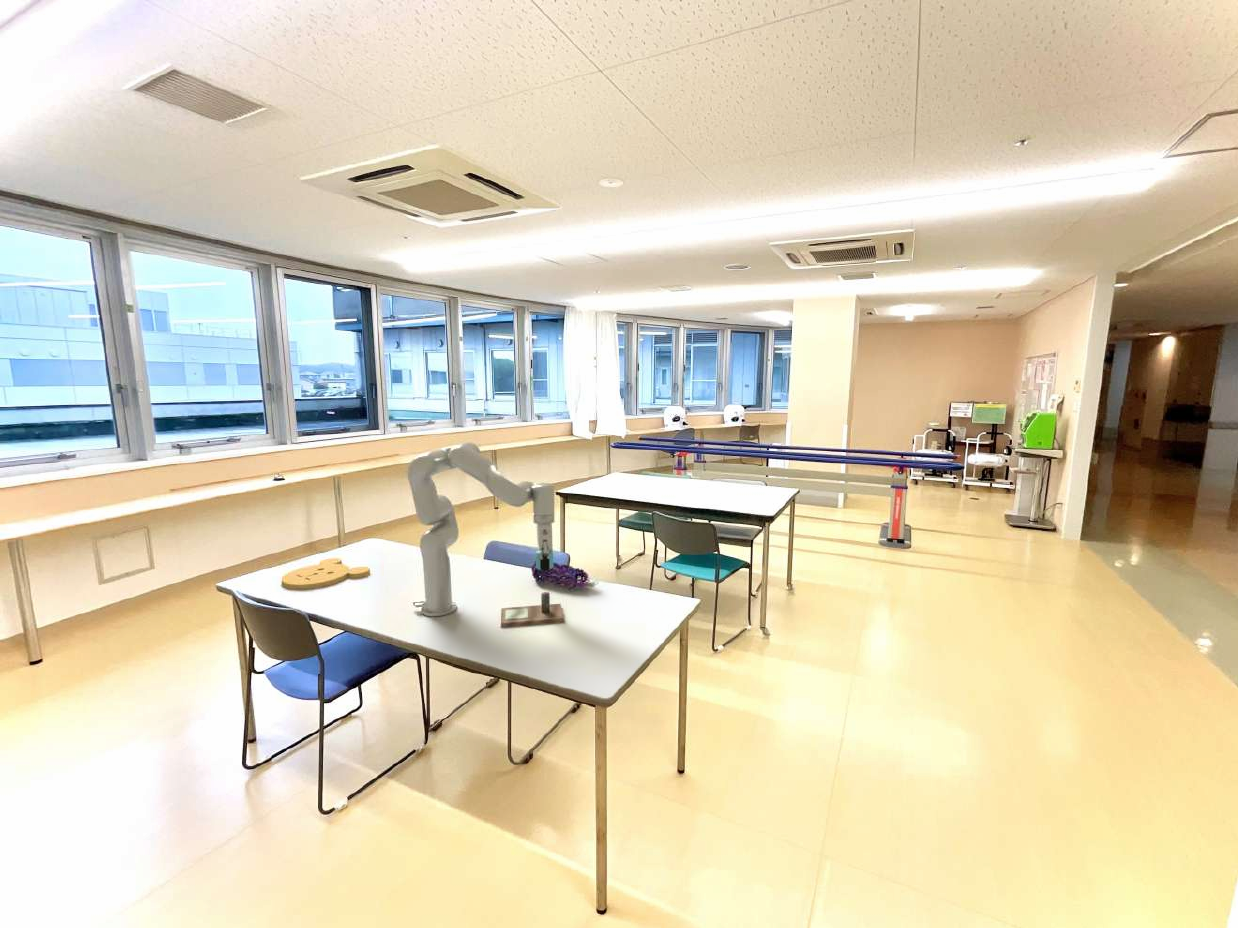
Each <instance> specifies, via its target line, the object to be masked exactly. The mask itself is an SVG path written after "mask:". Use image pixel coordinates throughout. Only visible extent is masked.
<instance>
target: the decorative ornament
mask: <svg viewBox="0 0 1238 928" xmlns="http://www.w3.org/2000/svg"><path fill="white" fill-rule="evenodd" d="M530 570H531V572H532V575H531V576H532V578H533V579H535V580H534V581H535V582H538V581H541V582H546V581H547V582H548V583H550V582H552V583H553V584H554V586H555V587H556V588H559V587H569V588H568V591H570V590H571V589H573V588H575V587H582V588H584V587H585V588H587V589H588V588H591V587H592V588H594V587H595V586H596V585H597V584H599V581H594V580H593V579H592V582H591V580H590V577H589V574H588V573H587V572H586V571H585V570H584V569H583V568H581V569H580V568H579V567H575V568H574V567H573V566H571V565H567V564H559V563H557V562H553V568H551V569H549V570H540V569H537V568H536V560H535V561H534V564H533V565H532V566H531V569H530ZM570 586H571V587H570Z"/></svg>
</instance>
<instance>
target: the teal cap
mask: <svg viewBox="0 0 1238 928" xmlns="http://www.w3.org/2000/svg"><path fill="white" fill-rule="evenodd" d="M542 550H543V549H542ZM542 554H543V552H542ZM540 559H541V551H539V548H538V549H537V550H536V551H535V561H536V568H537V569H540ZM553 563H554V552H553V550H552V551H551V550H549V569H551V568H553ZM540 570H541V569H540Z"/></svg>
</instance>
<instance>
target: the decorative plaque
mask: <svg viewBox="0 0 1238 928" xmlns="http://www.w3.org/2000/svg"><path fill="white" fill-rule="evenodd" d="M318 563H319V564H313V565H309V566H304V567H300V568H298V569H297V568H296V569H294V570H291V571H289V572H288V573H285V574H284V575H282V577H281V586H283V588H285V589H288V590H296V591H297V590H298V591H299V590H300V591H303V590H304V591H305V590H314V589H321V588H326V587H329V586H333V585H337V584H338V583H342V582H343V581H345V580H347V579H355V580H356V579H362V578H365V577H369V576H370V574H371V569H370V567H369V566H357V567H352V568H350V566H348V565H345V564H343V563H342V559H341V558H339V557H338V558H337V557H330V558H326V559H323V560H320V561H319V562H318Z"/></svg>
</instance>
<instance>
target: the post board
mask: <svg viewBox="0 0 1238 928" xmlns="http://www.w3.org/2000/svg"><path fill="white" fill-rule="evenodd" d="M540 595H541V596H540V599H541V600H540V601H541V604H538V605H526V606H514V607H511V606H510V607H501V609H500V628H509V627H510V628H511V627H512V628H513V627H521V626H534V625H544V624H545V625H547V624H556V623H557V624H558V623H565V616H564V614H563V608H562V604H561V603H552V604H551V602H550V601H551V599H550V597H551V596H550V592H547V591H545V592H544V591H543V592H541V593H540Z"/></svg>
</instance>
